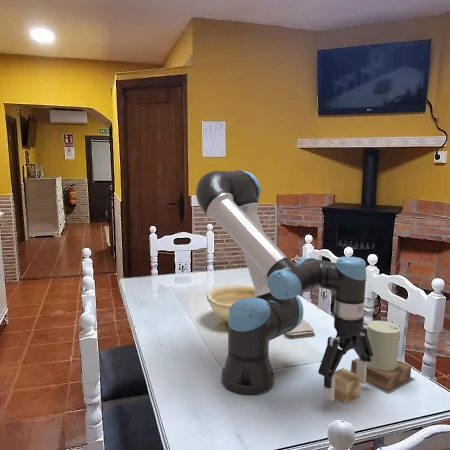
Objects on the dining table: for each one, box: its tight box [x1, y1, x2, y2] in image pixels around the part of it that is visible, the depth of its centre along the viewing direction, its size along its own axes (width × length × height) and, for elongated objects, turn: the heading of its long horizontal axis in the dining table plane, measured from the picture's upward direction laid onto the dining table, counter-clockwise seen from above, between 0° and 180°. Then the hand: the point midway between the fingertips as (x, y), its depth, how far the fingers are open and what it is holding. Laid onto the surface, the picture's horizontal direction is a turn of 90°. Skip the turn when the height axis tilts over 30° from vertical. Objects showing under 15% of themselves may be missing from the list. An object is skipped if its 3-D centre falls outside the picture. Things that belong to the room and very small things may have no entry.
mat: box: [349, 370, 415, 395], centre depth 122 cm, size 14×14×1 cm
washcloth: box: [283, 318, 316, 339], centre depth 156 cm, size 12×18×3 cm, turn 17°
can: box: [366, 320, 401, 371], centre depth 120 cm, size 9×9×12 cm
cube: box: [333, 367, 362, 404], centre depth 111 cm, size 6×6×6 cm
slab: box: [350, 357, 412, 391], centre depth 121 cm, size 12×12×4 cm
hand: (345, 389), depth 111 cm, fingers open, 13 cm apart
